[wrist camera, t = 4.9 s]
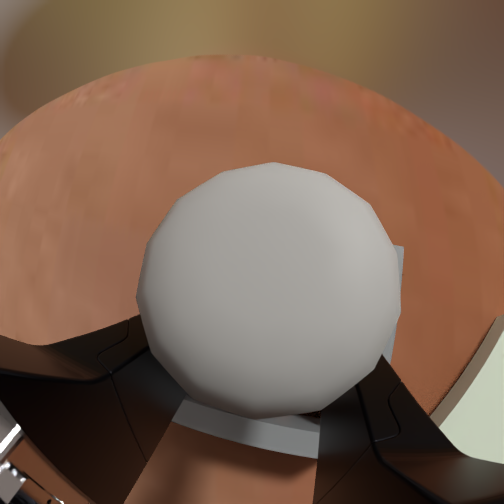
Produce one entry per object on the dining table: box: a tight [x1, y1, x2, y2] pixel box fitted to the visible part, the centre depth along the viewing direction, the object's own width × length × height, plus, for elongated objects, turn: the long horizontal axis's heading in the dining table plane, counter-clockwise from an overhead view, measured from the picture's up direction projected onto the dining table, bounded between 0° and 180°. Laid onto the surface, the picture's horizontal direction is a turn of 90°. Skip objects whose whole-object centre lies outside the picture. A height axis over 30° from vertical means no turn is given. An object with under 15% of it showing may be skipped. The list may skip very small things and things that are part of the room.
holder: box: [172, 245, 404, 459], centre depth 14 cm, size 10×10×4 cm
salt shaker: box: [136, 162, 401, 420], centre depth 10 cm, size 6×6×13 cm
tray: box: [430, 315, 504, 464], centre depth 10 cm, size 12×12×2 cm
